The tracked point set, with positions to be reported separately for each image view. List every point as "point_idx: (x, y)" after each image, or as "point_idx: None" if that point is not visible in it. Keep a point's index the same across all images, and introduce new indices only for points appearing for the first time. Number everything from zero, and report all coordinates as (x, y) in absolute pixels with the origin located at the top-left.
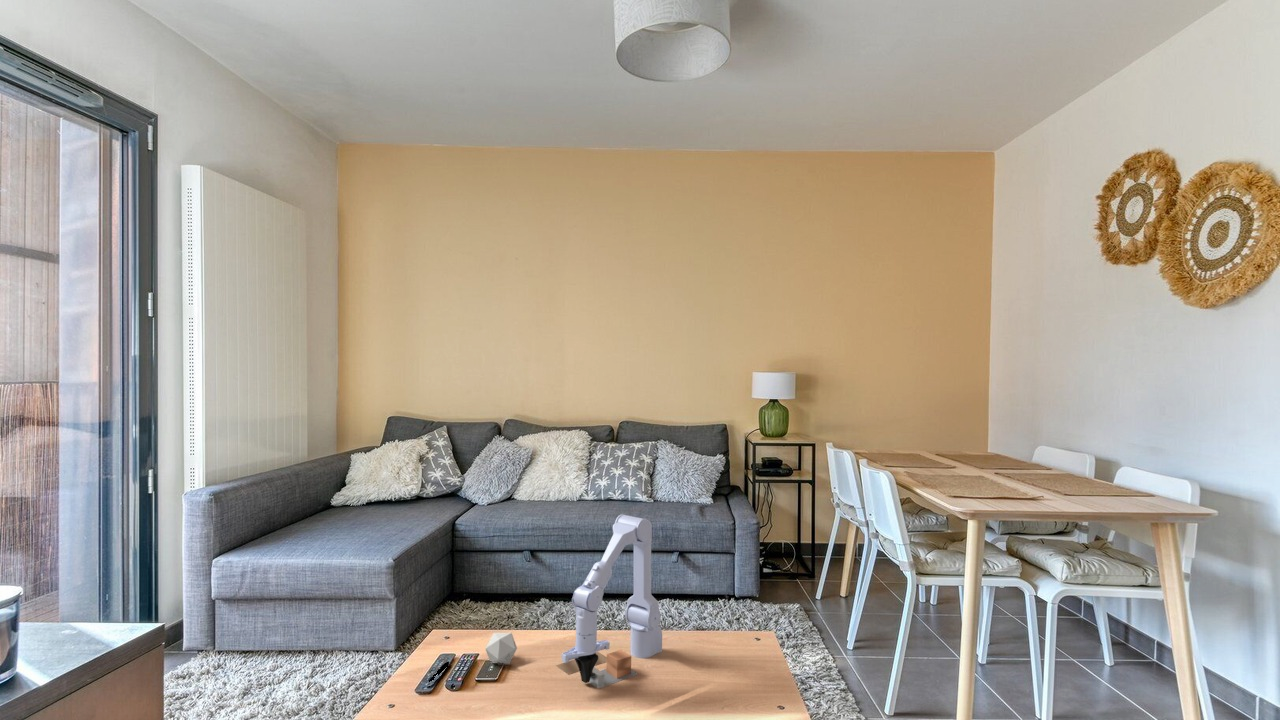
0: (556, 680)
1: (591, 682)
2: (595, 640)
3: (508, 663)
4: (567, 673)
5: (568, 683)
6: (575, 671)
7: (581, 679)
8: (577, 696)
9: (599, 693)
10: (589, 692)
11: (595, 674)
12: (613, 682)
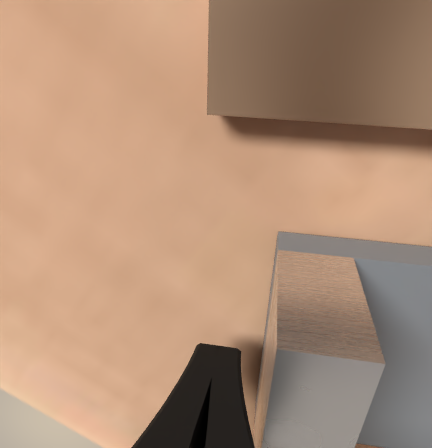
0: (84, 55)
1: (260, 383)
2: None
3: None
4: (213, 76)
5: (158, 186)
6: (322, 103)
7: (195, 350)
8: (120, 353)
9: None
10: None
11: None
12: (408, 444)
